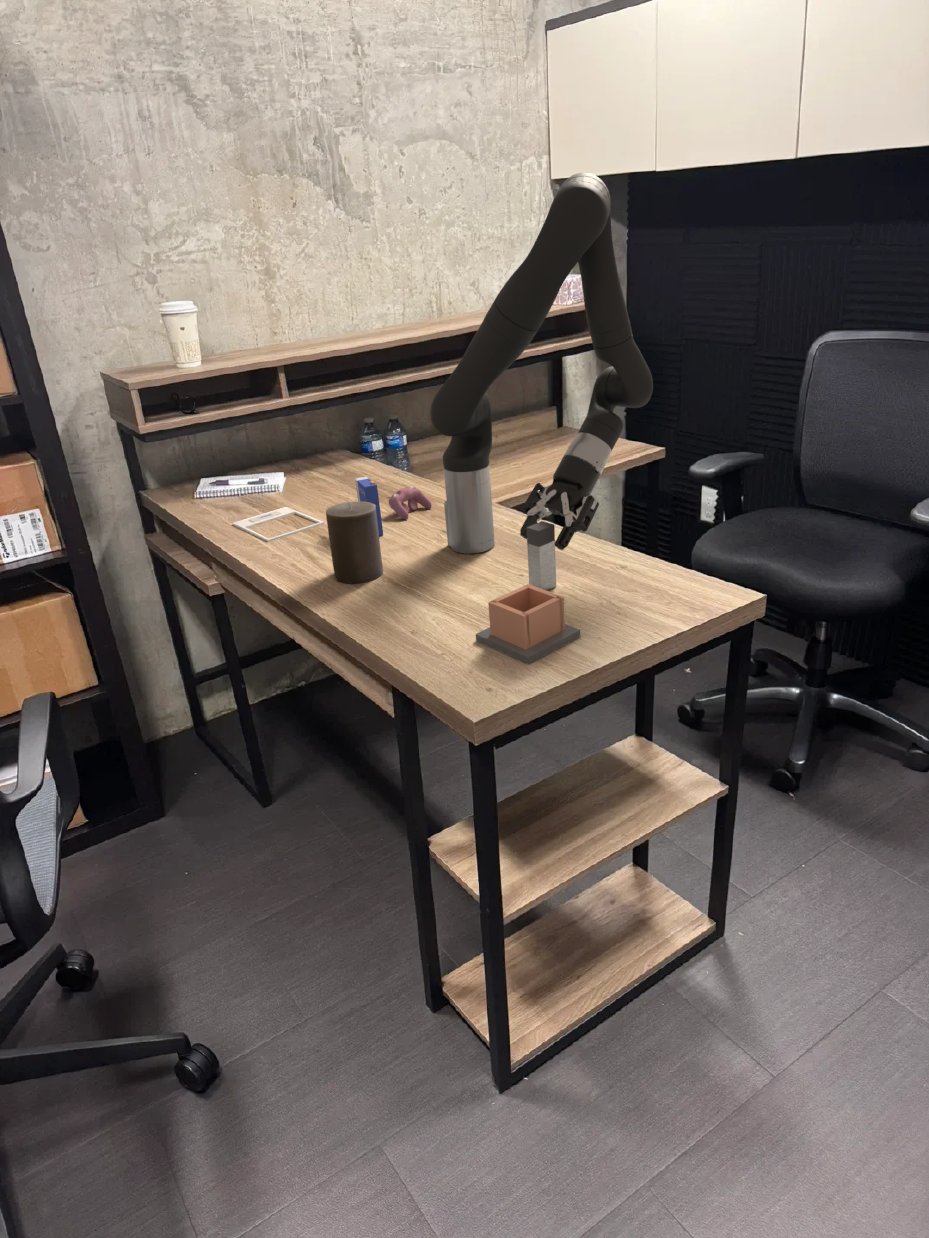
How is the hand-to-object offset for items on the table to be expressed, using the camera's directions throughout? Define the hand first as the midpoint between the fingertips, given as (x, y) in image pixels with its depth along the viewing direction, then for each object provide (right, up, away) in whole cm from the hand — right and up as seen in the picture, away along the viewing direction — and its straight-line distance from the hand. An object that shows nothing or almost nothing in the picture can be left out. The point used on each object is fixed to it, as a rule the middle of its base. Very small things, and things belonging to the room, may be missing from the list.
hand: (540, 542), depth 149 cm
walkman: (-34, +6, +38) cm, 52 cm away
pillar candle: (-35, -5, +17) cm, 39 cm away
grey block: (+1, -8, +4) cm, 9 cm away
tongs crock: (-3, -17, -13) cm, 22 cm away
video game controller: (-26, +11, +48) cm, 56 cm away
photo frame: (-58, +8, +48) cm, 76 cm away
